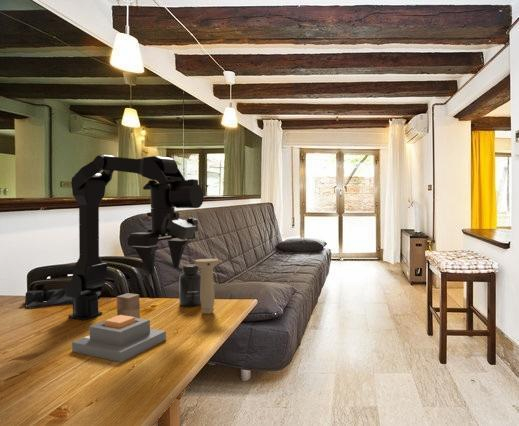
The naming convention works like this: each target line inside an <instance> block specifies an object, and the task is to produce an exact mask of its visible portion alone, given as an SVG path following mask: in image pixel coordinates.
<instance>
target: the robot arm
mask: <svg viewBox="0 0 519 426" xmlns="http://www.w3.org/2000/svg"><path fill="white" fill-rule="evenodd" d="M178 167H179V166H178V163H177V162H176V159H174V158H172V157H165V156H156V155H152V156H145V157H141V158H130V157H119V156H114V155H110V154H99V155H97V156H95V157H94V159H93V160H92V161H91V162H89V163H87V164H86V165H84V166H82V167H81V168H80V169H79V170H78V171H77V172H76V173H75V174H74V176H72V177H71V191H72V196H73V198H74V199H75V201H76V202H77V204H78V215H79V216H78V218H79V219H78V224H79V225H78V227H79V228H78V234H79V235H78V237H79V238H78V239H79V240H78V241H79V242H78V243H79V244H78V245H79V246H78V248H79V249H78V250H79V252H78V253H79V257H78V260H77V261H76V263H75V265H74V266H73V268H72V269H73V270H72V275H71V276H72V277H71V280H70V281H69V282H68V284H67V285H66V286H65V288H64V289H65V293H66V296H67V297H72V301H73V303H72V313H71V314H68V316H67V318H71V319H77V320H83V321H85V320H88V319H90V318H93V317H97V316H100V315H102V314H103V311H99V298H98V297H97V293H96V292H101V293H102V292H103V290H104V286H105V284H106V280H107V278H108V271H107V270H108V265H107V263H106V262H103V261H102V259H101V257H100V242H99V241H100V227H99V226H100V225H99V223H100V219H99V218H100V216H99V215H100V214H99V213H100V204H101V202H102V200H103V199H104V197H105V194H106V187H107V185H109V183H110V182H111V181H112V178H113V174H114V172H115V171H116V172H124V173H131V174H138V175H140V176H141V177H142V178H146V179H149V180H148V182H147V183H146V184H144V186H143V187H142V189H143V190H145V191H146V190H147V191H148V190H149V191H150V212H149V211H148V212H147V213H146V216H147V217H148V218H150V226H151V228H147V232H143V231H142V232H141V231H140V232H139V231H138V232H133V233H130V234H129V235H128V236H127V246H128V247H129V246H130V247H131V249H133V250H134V251H135V252H136V254H137V255H138V256H139V258H140V259H141V262H142V264H143V265H144V267H145V269H146V271H147V273H148V274H149V275H154V273H155V256H156V255H155V253H156V252H157V250H158V249H159V248H160V246H159V245H157V244H158V243H159V242H160V241H167V244H168V248H169V252H170V256H171V257H170V258H171V260H172V261H171V262H172V265H173V268H174V269H178V268H179V267H180V263H181V260H182V257H183V254H184V251H185V249H186V247H187V246H188V245H189V244H190V243H192V242H193V240H195V239H196V232H198V231H199V228H198V227H199V225H198V224H199V223H198V219H197V218H195V217H188V218H187V219H182V218H180V213H179V211H176V210H175V208H176V209H198V208H200V207H201V206H202V205H203V203H204V199H205V197H204V196H205V194H204V192H203V189H202V187H201V185H200V184H199V180H198V179H187V180H186V179H185V177H184V175H183V174H182V172H181V170H180V169H179V168H178Z"/></svg>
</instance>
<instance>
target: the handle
mask: <svg viewBox="0 0 519 426" xmlns="http://www.w3.org/2000/svg"><path fill="white" fill-rule="evenodd" d="M194 264H195V265H196V266H198V269H199V268H200V275H201V286H200V297H201V298H200V299H201V304H200V305H201V313H202V314H204V315H210V314H214V312H215V311H214V310H215V308H214V305H215V283H214V282H215V281H214V268H215V267H216V266H217V265H219V259H217V258H200V259H195V260H194Z"/></svg>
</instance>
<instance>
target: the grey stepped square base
mask: <svg viewBox="0 0 519 426" xmlns="http://www.w3.org/2000/svg"><path fill="white" fill-rule="evenodd" d="M150 321H151V320H150V319H145V318H141V317H140V318H135V323H134V324H131V325H129V326H126V327H124V328H122V329H117V328H112V327H106V326H105V322H104V320H103V321H101V322H98V323H96V324H92V325H90V326H89V327H88V330H89V335H87V336H84V337H82V338H80V339H77V340H75V341H72V342H71V351H72V352H74V353H78V354H83V355H86V356H91V357H96V358H100V359H105V360H110V361H115V362H119V363H123V362H124V361H126V360H128V359H131V358H133V357H135V356H136V355H138V354H141V353H143V352H145V351H146V350H149V349H150V348H153V347H154V346H156V345H159V344H160V343H162V342H164V341H166V340H167V331H166V330H161V329H155V328H151V322H150Z"/></svg>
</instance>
